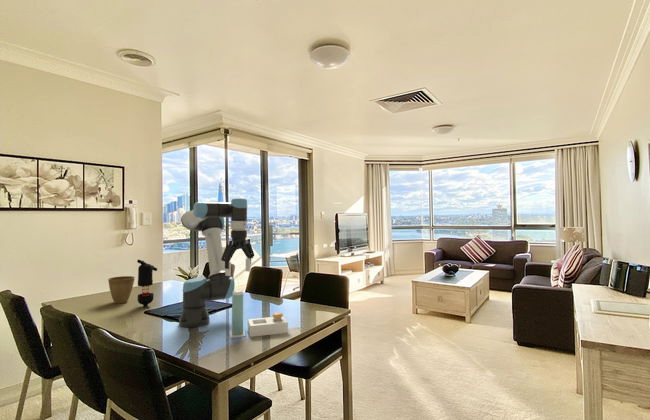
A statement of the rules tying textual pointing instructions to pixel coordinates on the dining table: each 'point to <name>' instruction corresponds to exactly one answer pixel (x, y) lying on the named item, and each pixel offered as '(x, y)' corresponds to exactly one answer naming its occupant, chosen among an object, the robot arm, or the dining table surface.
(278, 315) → the plunger
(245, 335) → the mat
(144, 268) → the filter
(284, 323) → the base
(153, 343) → the dining table surface
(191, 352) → the dining table surface
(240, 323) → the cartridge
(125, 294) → the plant pot
